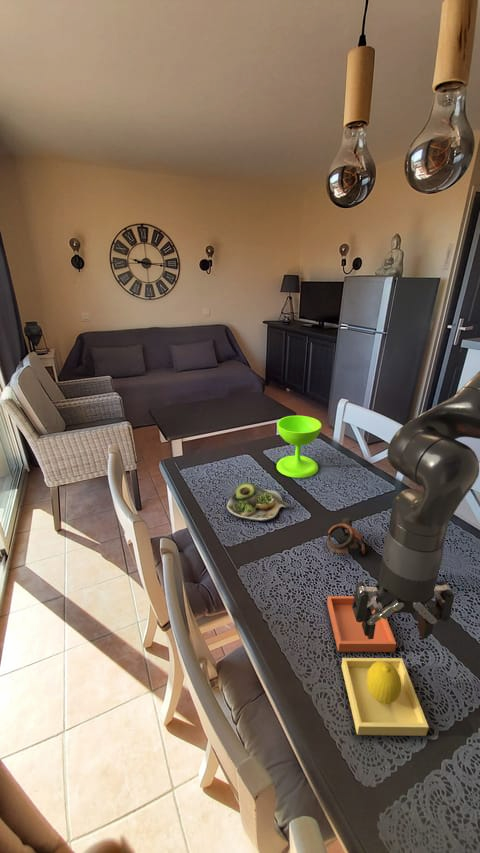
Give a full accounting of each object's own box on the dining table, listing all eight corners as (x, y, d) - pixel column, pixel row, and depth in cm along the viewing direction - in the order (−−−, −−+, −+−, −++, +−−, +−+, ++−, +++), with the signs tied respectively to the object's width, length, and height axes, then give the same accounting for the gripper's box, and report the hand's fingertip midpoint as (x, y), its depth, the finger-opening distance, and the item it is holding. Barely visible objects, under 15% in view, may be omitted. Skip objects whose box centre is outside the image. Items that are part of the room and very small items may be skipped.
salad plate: (295, 496, 121) (295, 484, 119) (281, 529, 106) (281, 517, 104) (241, 485, 127) (240, 474, 126) (221, 516, 112) (220, 504, 110)
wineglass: (268, 470, 137) (268, 426, 129) (288, 453, 149) (289, 412, 141) (307, 482, 128) (310, 437, 121) (325, 463, 140) (328, 420, 133)
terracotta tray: (376, 604, 82) (377, 596, 81) (394, 652, 72) (396, 643, 71) (327, 603, 82) (327, 596, 81) (338, 652, 72) (339, 643, 71)
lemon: (397, 718, 61) (405, 689, 58) (363, 706, 63) (368, 678, 59) (397, 686, 66) (403, 657, 62) (365, 675, 67) (370, 647, 64)
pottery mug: (369, 564, 93) (357, 546, 90) (334, 569, 98) (322, 552, 94) (365, 525, 102) (354, 508, 99) (333, 531, 107) (322, 514, 103)
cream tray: (400, 666, 69) (402, 658, 68) (426, 735, 59) (428, 727, 58) (341, 666, 70) (342, 657, 69) (357, 735, 59) (358, 726, 58)
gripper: (368, 580, 49) (357, 657, 56) (475, 578, 48) (451, 656, 55) (353, 541, 56) (345, 614, 62) (447, 539, 55) (429, 613, 62)
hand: (395, 633), depth 59 cm, fingers open, 8 cm apart
